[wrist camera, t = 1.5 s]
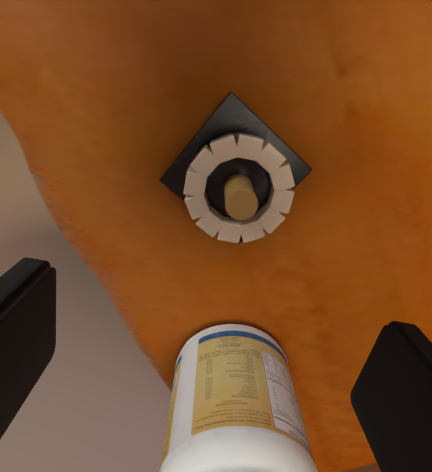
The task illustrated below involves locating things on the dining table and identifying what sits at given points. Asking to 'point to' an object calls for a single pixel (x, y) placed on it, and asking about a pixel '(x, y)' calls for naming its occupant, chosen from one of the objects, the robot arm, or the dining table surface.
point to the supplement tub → (234, 407)
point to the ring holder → (233, 163)
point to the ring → (267, 215)
